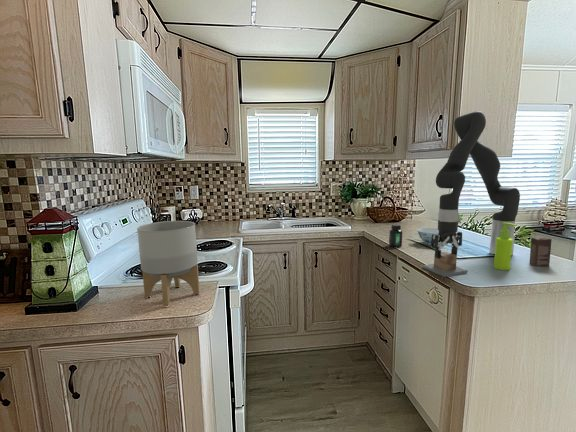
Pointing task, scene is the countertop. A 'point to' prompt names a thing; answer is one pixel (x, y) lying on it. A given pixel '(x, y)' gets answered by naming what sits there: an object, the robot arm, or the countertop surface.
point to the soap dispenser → (503, 248)
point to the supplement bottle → (395, 236)
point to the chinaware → (427, 234)
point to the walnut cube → (445, 261)
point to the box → (540, 251)
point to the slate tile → (445, 273)
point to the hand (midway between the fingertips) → (445, 257)
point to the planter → (168, 256)
